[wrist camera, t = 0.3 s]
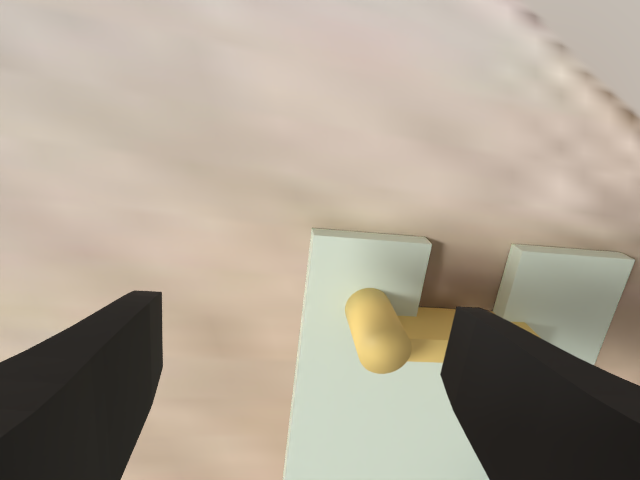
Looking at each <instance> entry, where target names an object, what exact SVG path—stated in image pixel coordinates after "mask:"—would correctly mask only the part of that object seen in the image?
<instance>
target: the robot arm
mask: <svg viewBox="0 0 640 480" xmlns="http://www.w3.org/2000/svg"><path fill="white" fill-rule="evenodd" d="M162 367H163V351H162V292H152V291H132V292H130V293H128V294H126V295H124V296H123V297H121V298H119V299H117V300H116V301H114V302H112V303H111V304H109V305H107V306H106V307H104V308H102V309H100V310H99V311H97V312H95V313H94V314H92V315H90V316H88V317H87V318H85V319H83V320H82V321H80V322H78V323H76V324H75V325H73V326H71V327H70V328H68V329H66V330H64V331H62V332H60V333H58V334H56V335H54V336H52V337H51V338H49V339H47V340H45V341H43V342H41V343H39V344H37V345H35V346H33V347H32V348H30V349H28V350H26V351H24V352H22V353H19V354H17V355H15V356H13V357H11V358H9V359H7V360H4V361H2V362H0V480H120V479H121V477H122V475H123V472H124V470H125V468H126V465H127V463H128V461H129V458H130V456H131V454H132V451H133V449H134V447H135V445H136V442H137V440H138V438H139V435H140V433H141V430H142V428H143V426H144V423H145V421H146V419H147V416H148V414H149V411H150V409H151V406H152V404H153V400H154V397H155V393H156V390H157V386H158V382H159V379H160V375H161V371H162ZM440 375H441V378H442V381H443V384H444V387H445V390H446V393H447V396H448V399H449V401H450V404H451V406H452V409H453V411H454V413H455V415H456V417H457V419H458V421H459V423H460V425H461V427H462V429H463V431H464V433H465V435H466V437H467V439H468V440H469V442H470V444H471V446H472V448H473V450H474V452H475V454H476V455H477V457H478V459H479V461H480V463H481V465H482V467H483V468H484V470H485V472H486V474H487V476H488V478H489V480H640V386H639V385H636V384H634V383H631V382H629V381H627V380H624V379H622V378H620V377H618V376H615V375H613V374H611V373H609V372H607V371H604V370H602V369H600V368H598V367H596V366H594V365H592V364H590V363H588V362H586V361H584V360H582V359H580V358H578V357H576V356H574V355H572V354H570V353H568V352H566V351H564V350H562V349H560V348H558V347H556V346H555V345H553V344H551V343H549V342H547V341H545V340H543V339H541V338H540V337H538V336H536V335H534V334H532V333H530V332H528V331H526V330H525V329H523V328H521V327H519V326H517V325H515V324H513V323H511V322H510V321H508V320H506V319H504V318H502V317H500V316H498V315H495V314H493V313H491V312H489V311H486V310H484V309H481V308H472V307H456V311H455V315H454V319H453V323H452V327H451V332H450V336H449V340H448V344H447V348H446V352H445V357H444V361H443V365H442V369H441V373H440Z"/></svg>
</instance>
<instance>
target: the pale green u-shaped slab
mask: <svg viewBox="0 0 640 480" xmlns="http://www.w3.org/2000/svg"><path fill="white" fill-rule="evenodd" d="M431 247H432V244H431V243H430V242H429V241H428V239H427V238H426V237H420V236H407V235H395V234H382V233H369V232H357V231H344V230H331V229H319V228H312V231H311V240H310V248H309V257H308V266H307V274H306V283H305V291H304V300H303V309H302V317H301V326H300V334H299V343H298V352H297V360H296V369H295V378H294V386H293V395H292V403H291V412H290V421H289V429H288V438H287V446H286V455H285V464H284V472H283V480H489V478H488V476H487V474H486V472H485V470H484V468H483V467H482V465H481V463H480V461H479V459H478V457H477V455H476V454H475V452H474V450H473V448H472V446H471V444H470V442H469V440H468V439H467V437H466V435H465V433H464V431H463V429H462V427H461V425H460V423H459V421H458V419H457V417H456V415H455V413H454V411H453V409H452V406H451V404H450V401H449V399H448V396H447V393H446V390H445V387H444V384H443V381H442V378H441V375H440V373H441V369H442V365H443V361H444V357H445V352H446V348H447V344H448V340H449V336H450V332H451V327H452V323H453V319H454V315H455V311H456V309H445V308H427V307H419V302H420V298H421V293H422V288H423V284H424V279H425V275H426V270H427V265H428V261H429V256H430V252H431ZM634 262H635V259H633V258H631V257H629V256H627V255H625V254H623V253H621V252H611V251H598V250H585V249H573V248H560V247H547V246H534V245H522V244H512V245H511V248H510V252H509V255H508V259H507V262H506V266H505V269H504V273H503V276H502V280H501V283H500V287H499V290H498V294H497V298H496V301H495V305H494V308H493V311H489V312H491V313H493V314H495V315H498V316H500V317H502V318H504V319H506V320H508V321H510V322H511V323H513V324H515V325H517V326H519V327H521V328H523V329H525V330H526V331H528V332H530V333H532V334H534V335H536V336H538V337H540V338H541V339H543V340H545V341H547V342H549V343H551V344H553V345H555V346H556V347H558V348H560V349H562V350H564V351H566V352H568V353H570V354H572V355H574V356H576V357H578V358H580V359H582V360H584V361H586V362H588V363H590V364H592V365H594V364H595V361H596V359H597V356H598V354H599V351H600V349H601V346H602V344H603V341H604V338H605V336H606V333H607V331H608V328H609V326H610V323H611V321H612V318H613V315H614V313H615V310H616V308H617V305H618V303H619V300H620V298H621V295H622V292H623V290H624V287H625V285H626V282H627V280H628V277H629V275H630V272H631V270H632V267H633V264H634Z"/></svg>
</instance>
